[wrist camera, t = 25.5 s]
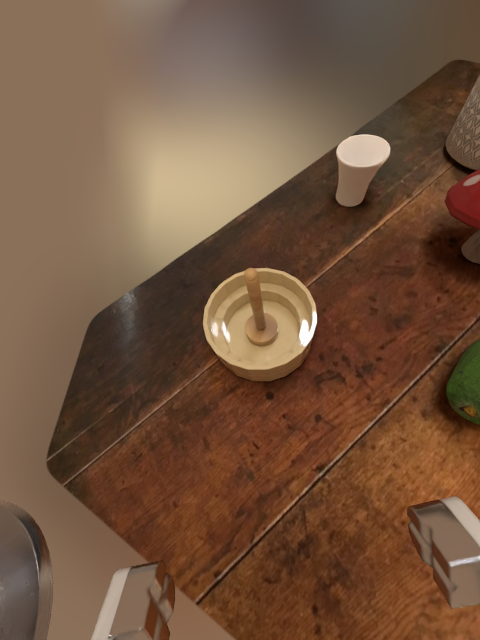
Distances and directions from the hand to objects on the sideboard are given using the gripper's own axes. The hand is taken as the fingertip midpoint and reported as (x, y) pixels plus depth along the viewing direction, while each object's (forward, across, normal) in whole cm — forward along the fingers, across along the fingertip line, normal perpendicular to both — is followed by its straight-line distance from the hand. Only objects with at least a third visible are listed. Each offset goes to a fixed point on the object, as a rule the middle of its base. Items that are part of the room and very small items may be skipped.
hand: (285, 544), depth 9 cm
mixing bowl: (+35, -2, +6) cm, 36 cm away
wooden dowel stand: (+35, -2, +6) cm, 35 cm away
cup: (+53, -27, -11) cm, 60 cm away
